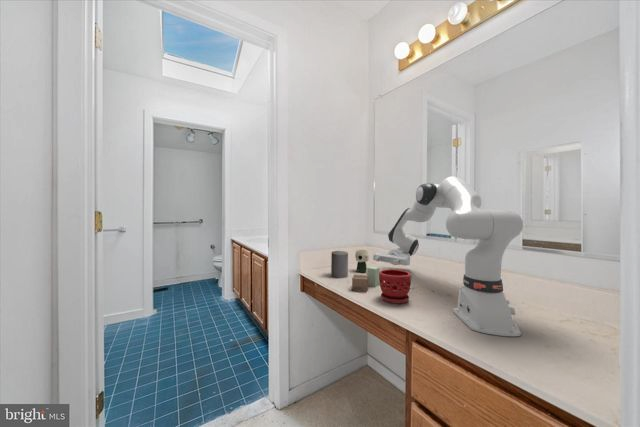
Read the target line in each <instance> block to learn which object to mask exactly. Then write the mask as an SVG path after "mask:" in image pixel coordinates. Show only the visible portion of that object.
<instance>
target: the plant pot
mask: <svg viewBox="0 0 640 427" xmlns="http://www.w3.org/2000/svg"><path fill="white" fill-rule="evenodd" d="M379 283H380V285H379V287H380V290H381V294H380V297H381V298H382V300H383V301H386V302H388V303H392V304H404V303H407V302H408V301H409V299H410V296H409V295H408V294H409V292H410V290H411V289H410V287H411V285H412V275H411V273H410V272H409V271H406V270H401V269H382V270H380V272H379Z"/></svg>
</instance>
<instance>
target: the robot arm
mask: <svg viewBox="0 0 640 427" xmlns="http://www.w3.org/2000/svg"><path fill="white" fill-rule="evenodd" d="M481 206H482V198H481V196H480V195H479V194H478V193H477V192H476V191H475V190H474V189H473V188H472V187H471V186H470V185H469V184H468V183H467V182H466V181H464V180H463V179H461V178H460V177H458V176H448V177H446V178H444V179H443V180H442V181H441V183H439V184H438V183H429V182H428V183H422V184H421V185H419V186H418V188H417V189H416V191H415V201H414V203H413V206H411V207H408V208H406V209H405V210H404V211H403V212H402V214H401V215H400V217H398V220H397V221H396V222H395V224H394V226H393V227H392V228H391V229H390V231H389V232H388V234H387V237H388V240H389V242H390V243H392V244H394V245H396V246H398V248H395V249H391V250H389V251H388V253H385V252H376V253H373V254H372V255H373V256H372V259H373V261H375V262H383V263H388V264H391V265H393V266H399V265H402V266H409V265H410V264H411V258H410V256H411V257H412V256H414V255H415V254H416V252H417V251H418V249H419V240H418V239H417V238H416V237H415V236H413V235H411V234H409V233H408V232H406V231H405V230H404V229H403V227H404V226H405V224H406V223H407V221H410V222H415V223H425V222H428V221H430V220H431V219H432V217H433V215H434V214H435V213H436V212H435V211H436V210H437V208H442V209H443V208H444V209H446V208H447V209H451V211H452V212H450V213H449V214H448V215H447V218H446V221H445V227H446V231H447V233H448V234H449V235H450V236H451V237H453V238H457V239H461V240H478V242H477V245H476V246H475V247H474V248H472V249H470V250H469V251H468V252H466V254H465V257H464V258H465V259H464V260H465V261H464V274H463V279H462V282H463V283H462V284H463V286H462V287H461V288H460V289H459V290H458V297H457V307H454V308H453V309H452V312H453V313H454V314H455V315H456V316H457V317H458V318H459V320H461V321H462V322H463V323H464V324H465V325H466V326H467V327H468V328H470V330H473V331H475V332H479V333H482V334H488V335H492V336H502V337H520V336H521V335H522V334H521V333H522V332H521V330H520V329H519V328H520V327H518V325H517V323H516V321H515V319H514V317H513V316H514V315H515V314H516V309H515V307H510V306H509V305H510V300H508V299H507V298H506V295H505V293H504V284H503V280H502V277H501V276H502V264H503V263H502V262H503V256H504V253H505V251H506V249H507V247H508V246H509V245H510V243H511V242H512V241H513V240H514V239H515V238H517V237H518V236H520V235H521V232H522V231H523V229H524V223H523V222H524V221H523V219H522V217H521V215H520V214H519V213H518V212H516V211H511V210H507V209H502V208H501V209H500V208H499V209H498V208H497V209H495V208H494V209H485V208H483V209H482V208H481Z"/></svg>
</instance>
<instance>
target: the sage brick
mask: <svg viewBox="0 0 640 427" xmlns="http://www.w3.org/2000/svg"><path fill="white" fill-rule="evenodd" d="M380 271H381V269H380V267H378V266H373V265H371V266H367V271H366V272H367V273H366V274H367V275H369V287H372V288H376V287H378V286H379V287H380V283H379V272H380Z"/></svg>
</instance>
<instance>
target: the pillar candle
mask: <svg viewBox="0 0 640 427" xmlns="http://www.w3.org/2000/svg"><path fill="white" fill-rule="evenodd" d="M330 257H331V260H330V261H331V262H330V263H331V264H330V266H331V267H330V275H331V277H332V278H336V279H345V278H347V277H348V276H349V271H348V270H349V252H348V251H344V250H340V249H339V250H333V251H331V256H330Z"/></svg>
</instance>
